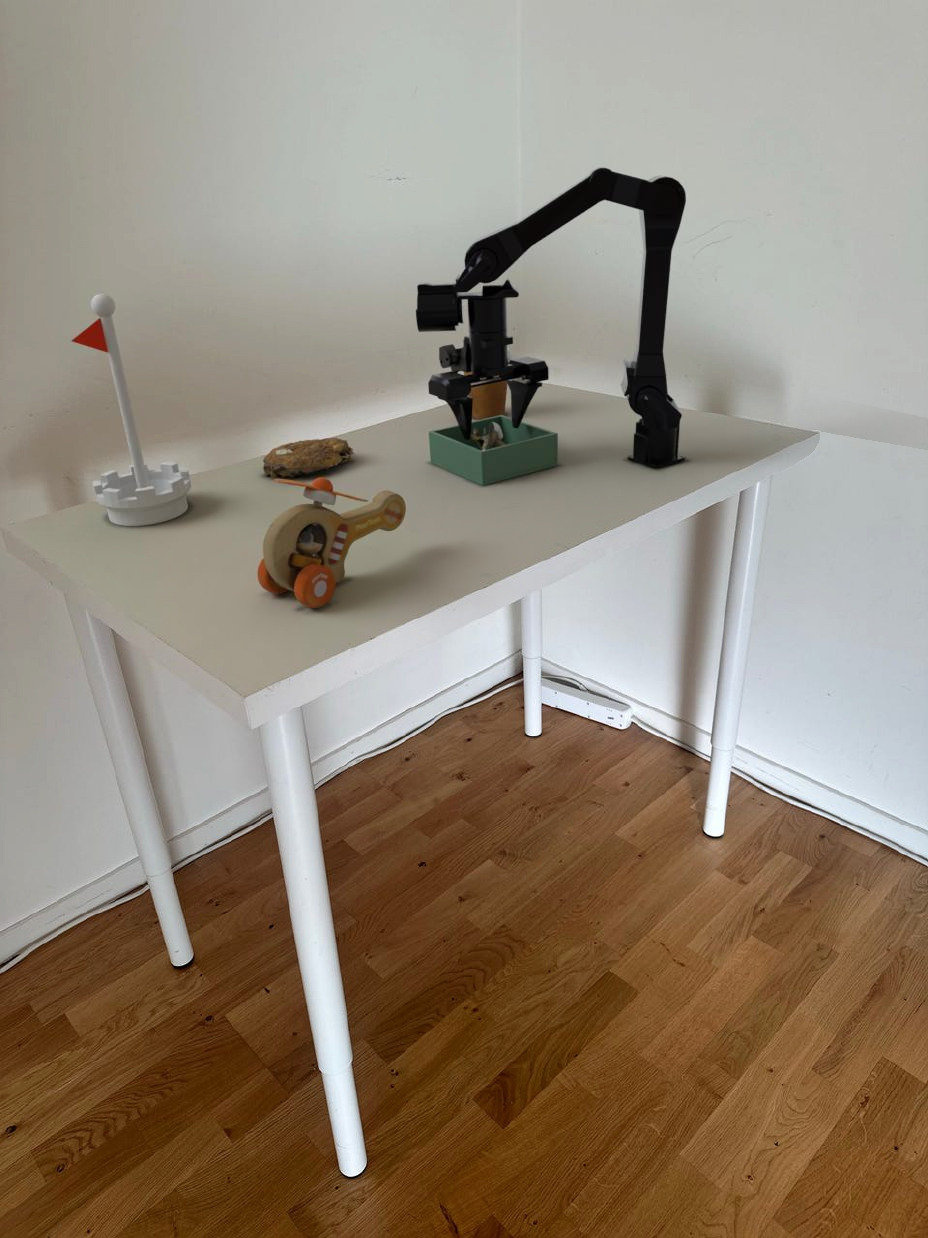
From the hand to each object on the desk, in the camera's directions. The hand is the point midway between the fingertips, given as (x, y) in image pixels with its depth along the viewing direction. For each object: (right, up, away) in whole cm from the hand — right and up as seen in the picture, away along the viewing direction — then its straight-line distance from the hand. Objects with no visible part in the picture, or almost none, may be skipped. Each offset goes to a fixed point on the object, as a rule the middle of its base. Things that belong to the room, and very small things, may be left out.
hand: (491, 433), depth 141 cm
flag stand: (-50, -13, -10) cm, 52 cm away
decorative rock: (-29, -5, +5) cm, 30 cm away
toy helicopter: (-19, -24, -34) cm, 46 cm away
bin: (0, -4, +2) cm, 5 cm away
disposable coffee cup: (0, +9, +28) cm, 30 cm away
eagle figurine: (0, -4, +2) cm, 5 cm away
